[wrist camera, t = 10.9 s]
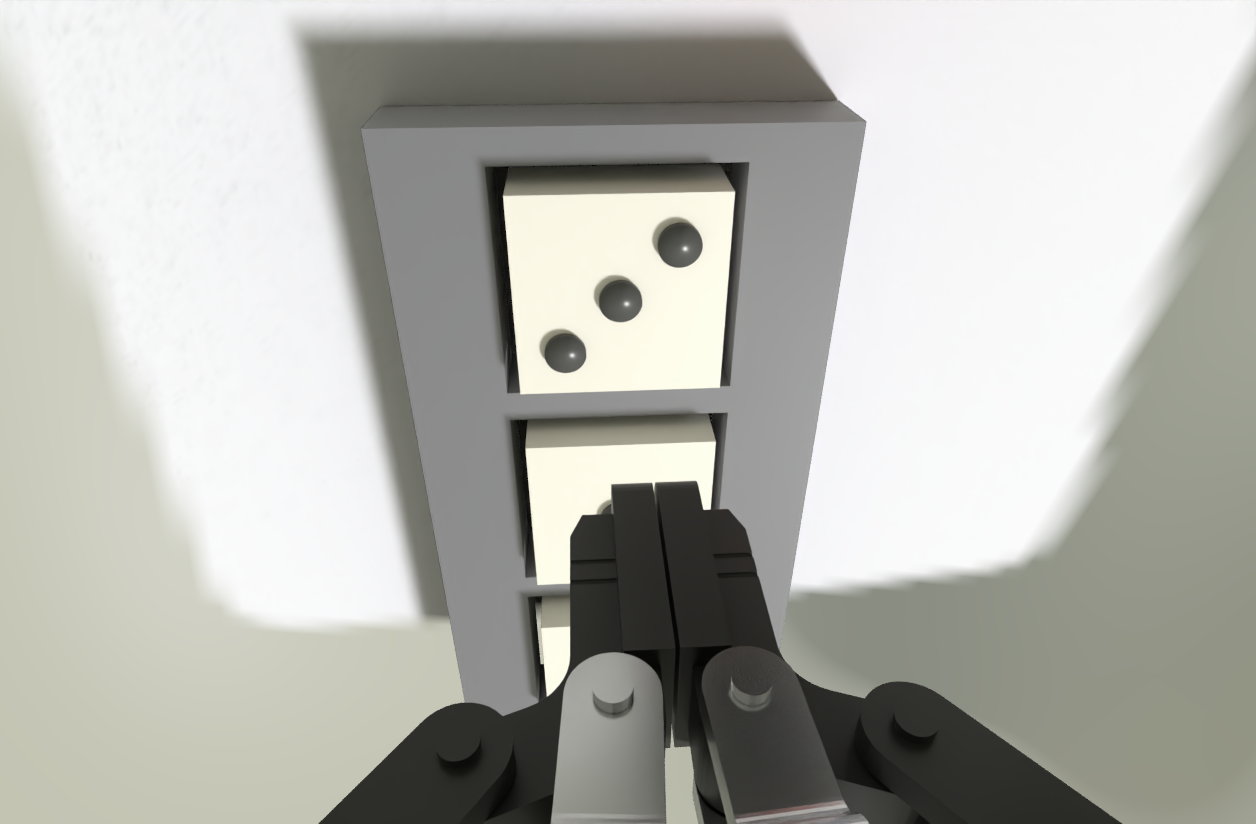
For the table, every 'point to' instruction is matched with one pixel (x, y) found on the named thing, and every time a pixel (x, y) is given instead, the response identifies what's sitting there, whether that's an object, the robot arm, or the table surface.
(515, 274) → the tile three
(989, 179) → the table surface
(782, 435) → the grey tile tray
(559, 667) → the tile two
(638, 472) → the tile one
